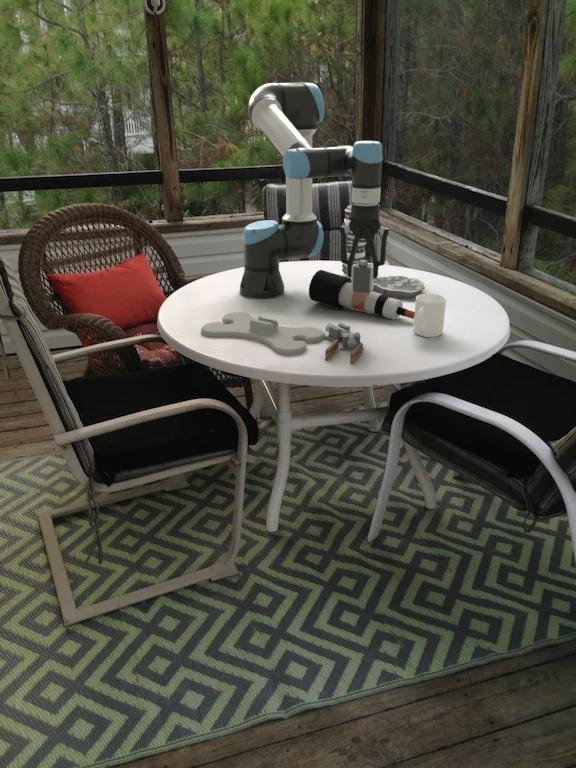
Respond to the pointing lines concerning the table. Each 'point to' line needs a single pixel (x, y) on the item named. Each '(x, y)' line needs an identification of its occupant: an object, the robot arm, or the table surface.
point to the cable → (353, 297)
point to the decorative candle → (350, 238)
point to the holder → (264, 332)
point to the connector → (361, 277)
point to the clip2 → (349, 341)
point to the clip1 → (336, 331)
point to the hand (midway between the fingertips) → (362, 288)
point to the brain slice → (398, 286)
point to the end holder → (334, 348)
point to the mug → (429, 315)
